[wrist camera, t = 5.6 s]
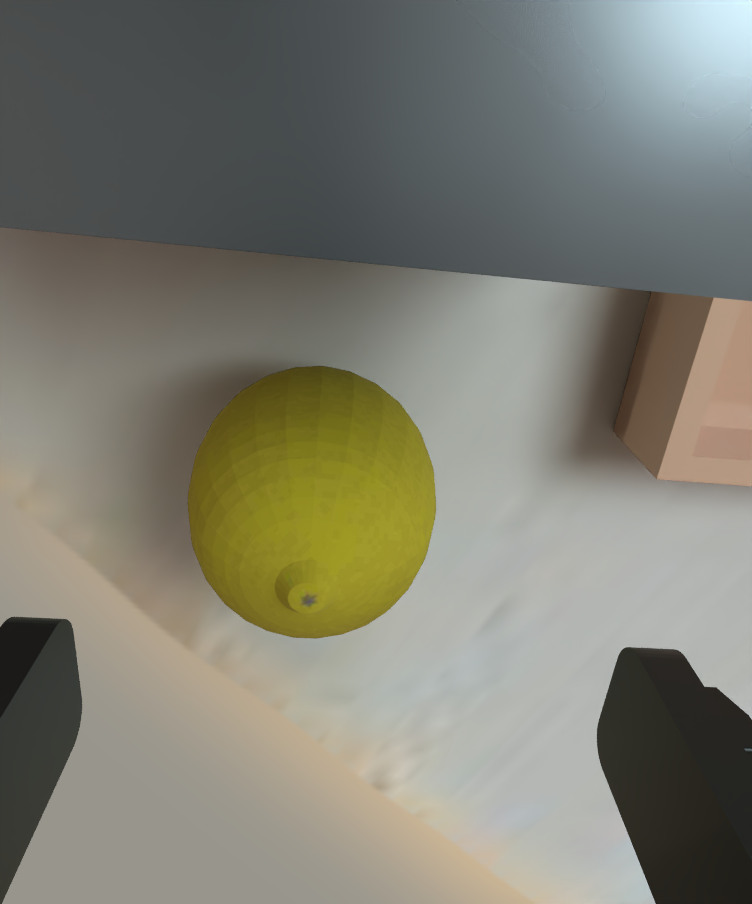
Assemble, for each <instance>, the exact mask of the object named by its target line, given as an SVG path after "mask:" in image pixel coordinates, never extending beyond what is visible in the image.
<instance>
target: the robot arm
mask: <svg viewBox="0 0 752 904" xmlns="http://www.w3.org/2000/svg"><path fill="white" fill-rule="evenodd" d="M81 714H82V697H81V689H80V681H79V674H78V665H77V657H76V649H75V641H74V634H73V628H72V625H71V623H70V622H69V621H68V620H66V619H50V618H27V617H11V618H9V619H7V620H6V621H5V622H4V623H3V624H2V626H1V627H0V904H2V902H3V899H4V897H5V895H6V893H7V891H8V889H9V886H10V884H11V882H12V880H13V878H14V876H15V873H16V871H17V869H18V867H19V865H20V862H21V860H22V858H23V856H24V854H25V851H26V849H27V847H28V845H29V843H30V841H31V838H32V836H33V834H34V832H35V830H36V828H37V825H38V823H39V821H40V819H41V817H42V814H43V812H44V810H45V808H46V806H47V803H48V801H49V799H50V797H51V795H52V793H53V790H54V788H55V786H56V784H57V782H58V779H59V777H60V775H61V773H62V771H63V769H64V766H65V764H66V762H67V760H68V758H69V756H70V753H71V751H72V749H73V747H74V744H75V741H76V738H77V735H78V731H79V727H80V721H81ZM597 747H598V754H599V759H600V763H601V766H602V769H603V772H604V774H605V777H606V779H607V782H608V784H609V787H610V789H611V792H612V794H613V797H614V799H615V802H616V804H617V807H618V809H619V812H620V815H621V817H622V820H623V822H624V825H625V827H626V830H627V832H628V835H629V837H630V840H631V842H632V845H633V847H634V850H635V852H636V855H637V857H638V860H639V862H640V865H641V867H642V870H643V873H644V875H645V878H646V880H647V883H648V885H649V888H650V890H651V893H652V895H653V898H654V900H655V903H656V904H752V720H751V718H750V717H749V715H747V714H746V713H745V712H744V711H743V710H742V709H740V708H739V707H738V706H737V705H736V704H735V703H733V702H732V701H731V700H730V699H729V698H728V697H727V696H725V695H724V694H723V693H722V692H721V691H720V690H718V689H717V688H716V687H704V686H703V684H702V682H701V681H700V679H699V678H698V676H697V675H696V673H695V672H694V670H693V668H692V667H691V665H690V664H689V662H688V661H687V659H686V658H685V656H684V655H683V654H682V653H681V652H679V651H678V650H674V649H653V648H632V647H627V648H624V649H623V650H622V651H621V652H620V654H619V656H618V659H617V662H616V665H615V669H614V672H613V675H612V679H611V682H610V685H609V689H608V692H607V695H606V699H605V702H604V705H603V709H602V712H601V715H600V719H599V723H598V728H597Z"/></svg>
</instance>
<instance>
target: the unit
mask: <svg viewBox="0 0 752 904" xmlns="http://www.w3.org/2000/svg"><path fill="white" fill-rule="evenodd" d="M0 227H5V228H15V229H25V230H36V231H46V232H56V233H66V234H76V235H86V236H96V237H106V238H117V239H127V240H137V241H147V242H157V243H167V244H177V245H187V246H197V247H208V248H218V249H228V250H238V251H248V252H258V253H268V254H278V255H289V256H299V257H309V258H319V259H329V260H339V261H349V262H359V263H370V264H380V265H390V266H400V267H410V268H420V269H430V270H440V271H450V272H461V273H471V274H481V275H491V276H501V277H511V278H521V279H531V280H542V281H552V282H562V283H572V284H582V285H592V286H602V287H612V288H622V289H633V290H643V291H653V292H663V293H673V294H683V295H693V296H703V297H714V298H724V299H734V300H744V301H752V0H0Z"/></svg>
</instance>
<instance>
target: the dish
mask: <svg viewBox="0 0 752 904" xmlns="http://www.w3.org/2000/svg"><path fill="white" fill-rule="evenodd" d="M613 432H614V433H615V434H616V435H617V436H618V437H619V438H620V440H621V441H622V442H623V443H624V444H625V445H626V446H627V447H628V448H629V449H630V451H631V452H632V453H633V454H634V455H635V456H636V457H637V458H638V459H639V460H640V461H641V463H642V464H643V465H644V466H645V467H646V468H647V469H648V470H649V471H650V472H651V474H652V475H653V476H654V477H655V478H656V479H661V480H674V481H688V482H701V483H715V484H729V485H742V486H752V301H744V300H734V299H724V298H714V297H703V296H693V295H683V294H673V293H663V292H653V291H652V292H651V296H650V299H649V303H648V306H647V310H646V314H645V317H644V321H643V325H642V328H641V332H640V336H639V339H638V343H637V347H636V350H635V354H634V357H633V361H632V365H631V368H630V372H629V376H628V379H627V383H626V387H625V390H624V394H623V397H622V401H621V405H620V408H619V412H618V416H617V419H616V423H615V427H614V430H613Z"/></svg>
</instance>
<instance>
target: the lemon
mask: <svg viewBox="0 0 752 904" xmlns="http://www.w3.org/2000/svg"><path fill="white" fill-rule="evenodd" d="M188 511H189V522H190V531H191V540H192V545H193V549H194V551H195V554H196V556H197V559H198V561H199V564H200V566H201V568H202V571H203V573H204V575H205V578H206V580H207V581H208V583H209V584H210V585H211V587H212V588H213V589H214V590H215V592H216V593H217V594H218V596H219V597H220V598H221V600H222V601H223V602H224V603H225V604H226V605H227V606H228V607H229V608H231V609H232V610H233V611H234V612H236V613H237V614H238V615H240V616H241V617H242V618H243V619H245V620H246V621H248V622H250V623H252V624H254V625H256V626H259V627H261V628H263V629H265V630H267V631H270V632H274V633H278V634H282V635H286V636H290V637H296V638H322V637H328V636H334V635H340V634H344V633H347V632H349V631H352V630H355V629H357V628H360V627H363V626H365V625H367V624H369V623H370V622H372V621H373V620H375V619H376V618H378V617H379V616H381V615H382V614H384V613H385V612H387V611H388V610H389V609H390V608H391V607H392V606H393V605H394V604H395V603H396V602H397V601H398V600H399V599H400V598H401V596H402V595H403V594H404V593H405V592H406V591H407V590H408V589H409V587H410V585H411V584H412V582H413V580H414V578H415V576H416V575H417V573H418V571H419V569H420V567H421V565H422V564H423V562H424V560H425V557H426V554H427V551H428V547H429V542H430V538H431V533H432V529H433V525H434V520H435V513H436V497H435V482H434V471H433V466H432V463H431V460H430V457H429V454H428V452H427V449H426V446H425V443H424V441H423V438H422V435H421V433H420V431H419V429H418V428H417V426H416V425H415V424H414V422H413V421H412V419H411V418H410V417H409V415H408V414H407V412H406V411H405V410H404V408H403V407H402V405H401V404H400V403H399V402H398V401H397V400H395V399H394V398H393V397H392V396H391V395H389V394H388V393H387V392H386V391H384V390H383V389H382V388H381V387H379V386H378V385H377V384H375V383H374V382H371V381H369V380H367V379H365V378H363V377H361V376H359V375H356V374H354V373H352V372H350V371H345V370H340V369H335V368H330V367H325V366H312V367H295V368H291V369H288V370H285V371H281V372H278V373H275V374H271V375H268V376H266V377H264V378H262V379H261V380H259V381H257V382H256V383H254V384H252V385H251V386H249V387H247V388H246V389H244V390H242V391H241V392H240V393H239V394H237V395H236V396H235V398H234V399H233V400H232V401H231V402H230V403H229V404H228V405H227V406H226V407H225V408H224V409H223V410H222V411H221V412H220V413H219V414H218V415H217V417H216V418H215V419H214V421H213V423H212V425H211V427H210V428H209V430H208V432H207V434H206V436H205V438H204V440H203V442H202V444H201V446H200V448H199V450H198V451H197V454H196V458H195V462H194V467H193V472H192V476H191V481H190V486H189V493H188Z"/></svg>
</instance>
